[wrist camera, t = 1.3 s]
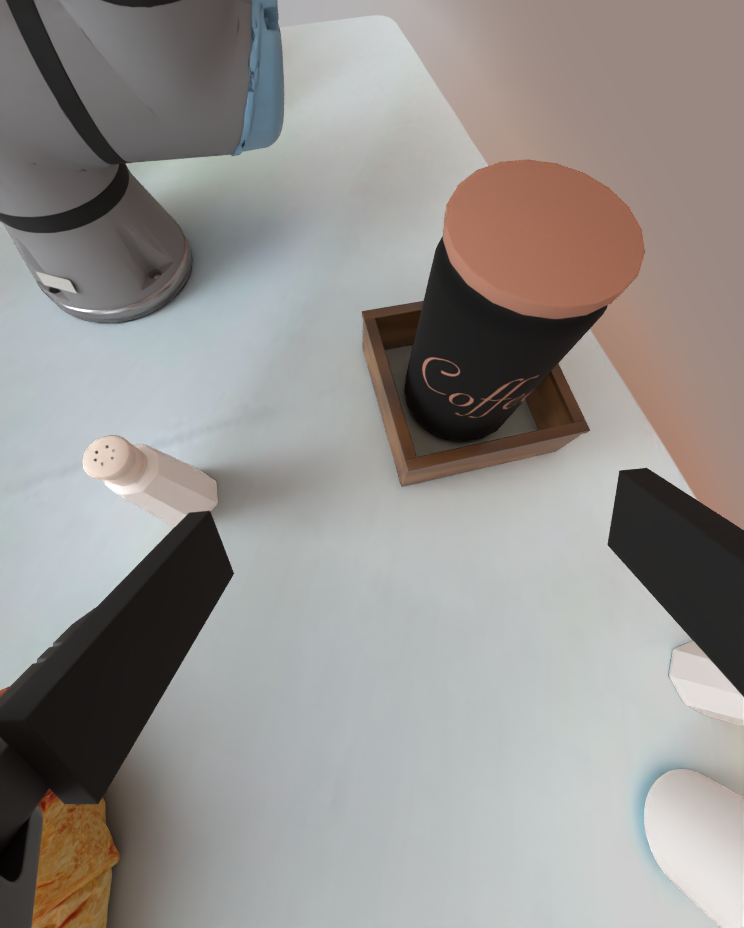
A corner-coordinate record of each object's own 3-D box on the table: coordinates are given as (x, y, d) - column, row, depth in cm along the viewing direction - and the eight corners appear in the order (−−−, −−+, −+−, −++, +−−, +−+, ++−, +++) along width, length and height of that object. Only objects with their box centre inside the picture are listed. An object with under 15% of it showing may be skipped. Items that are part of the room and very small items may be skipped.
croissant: (146, 980, 24) (144, 1092, 18) (-83, 1175, 18) (-205, 1442, 12) (98, 656, 30) (84, 655, 23) (-88, 725, 24) (-172, 749, 18)
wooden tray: (361, 346, 37) (361, 311, 32) (500, 321, 39) (520, 284, 34) (400, 488, 32) (408, 471, 27) (557, 452, 34) (590, 430, 29)
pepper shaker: (203, 458, 32) (130, 399, 22) (231, 506, 31) (167, 467, 21) (147, 489, 31) (42, 443, 21) (173, 541, 30) (74, 518, 20)
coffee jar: (390, 428, 34) (423, 274, 17) (417, 341, 38) (466, 140, 21) (497, 459, 34) (642, 331, 17) (515, 367, 37) (650, 183, 20)
